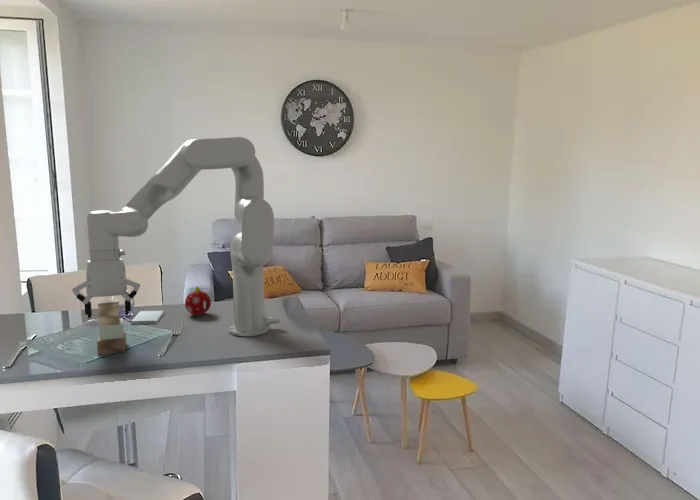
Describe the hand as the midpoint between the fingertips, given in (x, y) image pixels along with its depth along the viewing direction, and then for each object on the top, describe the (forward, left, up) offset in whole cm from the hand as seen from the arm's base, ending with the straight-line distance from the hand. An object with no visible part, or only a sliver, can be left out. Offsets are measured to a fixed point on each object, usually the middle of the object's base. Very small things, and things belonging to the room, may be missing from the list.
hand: (108, 315), depth 153 cm
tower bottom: (0, 0, -10) cm, 10 cm away
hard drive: (-10, -29, -11) cm, 32 cm away
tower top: (-1, -1, -6) cm, 6 cm away
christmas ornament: (-26, -28, -10) cm, 40 cm away
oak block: (0, 0, -2) cm, 2 cm away
